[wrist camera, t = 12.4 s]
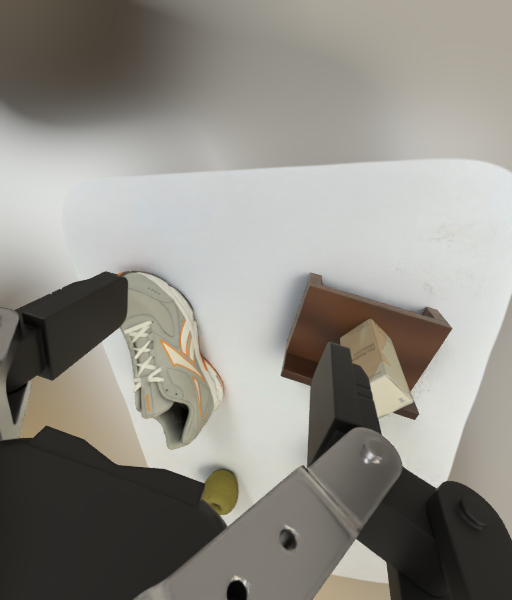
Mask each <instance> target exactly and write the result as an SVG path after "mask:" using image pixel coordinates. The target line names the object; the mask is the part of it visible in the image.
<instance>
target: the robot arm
mask: <svg viewBox="0 0 512 600" xmlns="http://www.w3.org/2000/svg"><path fill="white" fill-rule="evenodd" d="M127 311H128V280H127V278H126V277H123V276H120V275H117V274H114V273H110V272H107V271H106V272H103V273H101V274H99V275H97V276H95V277H92V278H90V279H87V280H83V281H78V282H74V283H72V284H69V285H67V286H65V287H63V288H62V289H59V290H57V291H55V292H52V294H48V295H46V296H44V297H42V298H40V299H38V300H35V301H33V302H31V303H29V304H27V305H25V306H23V307H20V308H19V309H16V310H12V309H8V308H2V307H0V600H313V598H314V597H315V595H316V594H317V593H318V591H319V590H320V588H321V587H322V586H323V584H324V583H325V581H326V580H327V578H328V577H329V576H330V574H331V573H332V572H333V570H334V569H335V567H336V566H337V565H338V563H339V562H340V560H341V559H342V558H343V556H344V555H345V553H346V552H347V551H348V549H349V548H350V546H351V545H352V544H353V542H354V541H355V539H357V540H358V541H360V542H361V543H362V544H364V545H365V546H366V547H368V548H369V549H370V550H371V551H373V552H374V553H375V554H377V555H378V556H379V557H381V558H382V559H383V560H385V561H386V563H387V571H388V580H389V588H390V596H391V600H512V540H511V538H510V535H509V533H508V531H507V529H506V527H505V525H504V523H503V521H502V520H501V518H500V517H499V515H498V514H497V513H496V511H495V510H494V509H493V508H492V506H491V505H490V504H489V503H488V502H487V501H485V499H484V498H482V497H481V496H480V495H479V494H478V493H476V492H475V491H473V490H472V489H471V488H469V487H467V486H465V485H463V484H461V483H458V482H454V481H446V482H443V483H442V484H441V485H440V486H439V487H438V488H437V489H436V488H435V487H433V486H432V485H430V484H428V483H427V482H425V481H424V480H422V479H420V478H419V477H417V476H416V475H414V474H412V473H411V472H410V471H408V470H407V469H405V468H404V467H403V466H402V462H401V459H400V456H399V454H398V452H397V451H396V449H395V448H394V446H393V445H392V444H391V443H390V442H389V441H388V440H387V439H386V438H385V437H383V436H382V434H381V429H380V425H379V421H378V416H377V412H376V408H375V403H374V400H373V395H372V391H371V386H370V382H369V377H368V376H367V374H366V373H365V371H364V370H363V369H362V367H361V366H360V365H357V364H354V363H352V358H351V352H350V348H348V347H345V346H342V345H339V344H335V343H332V342H328V344H327V345H326V348H325V350H324V352H323V355H322V357H321V359H320V361H319V364H318V366H317V368H316V371H315V373H314V376H313V379H312V383H311V389H310V412H309V435H308V458H307V469H306V468H305V466H300V467H298V468H297V469H296V470H294V471H293V472H292V473H291V474H290V475H288V476H287V477H286V478H285V479H284V480H283V481H281V482H280V483H279V484H278V485H277V486H275V487H274V488H273V489H272V490H271V491H270V492H268V493H267V494H266V495H265V496H264V497H262V498H261V499H260V500H259V501H258V502H257V503H255V504H254V505H253V506H252V507H251V508H249V509H248V510H247V511H246V512H245V513H244V514H242V515H241V516H240V517H239V518H238V519H236V520H235V521H234V522H233V523H232V524H231V525H229V526H228V527H227V525H226V523H225V522H224V520H223V519H222V518H221V516H220V515H219V514H218V512H217V511H216V510H215V509H214V508H213V507H212V506H211V505H210V504H209V503H207V502H206V501H205V500H203V499H202V496H203V492H204V488H205V484H204V483H202V482H199V481H196V480H193V479H191V478H188V477H185V476H182V475H180V474H177V473H174V472H172V471H169V470H166V469H158V468H144V467H132V466H121V465H117V464H115V463H113V462H112V461H111V460H109V459H108V458H107V457H106V456H104V455H103V454H102V453H100V452H99V451H98V450H97V449H95V448H94V447H92V445H90V444H89V443H88V442H87V441H85V440H84V439H81V438H79V437H76V436H73V435H70V434H68V433H65V432H62V431H59V430H57V429H54V428H51V427H49V426H45V427H44V428H43V429H42V430H41V431H40V432H39V433H38V434H37V435H36V436H35V437H34V438H20V433H21V429H22V425H23V421H24V416H25V412H26V408H27V404H28V400H29V395H30V391H31V386H32V385H31V379H32V378H34V377H35V376H37V375H38V376H41V377H43V378H47V379H49V380H54V379H55V378H57V377H58V376H59V375H60V374H62V373H63V372H64V371H65V370H67V369H68V368H69V367H70V366H72V365H73V364H74V363H75V362H77V361H78V360H79V359H80V358H82V357H83V356H84V355H85V354H87V353H88V352H89V351H90V350H92V349H93V348H94V347H95V346H97V345H98V344H99V343H100V342H102V341H103V340H104V339H105V338H107V337H108V336H109V335H111V334H112V333H113V332H114V331H116V330H117V329H118V328H119V327H120V326H121V325H122V324H123V323H124V321H125V319H126V316H127Z"/></svg>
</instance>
